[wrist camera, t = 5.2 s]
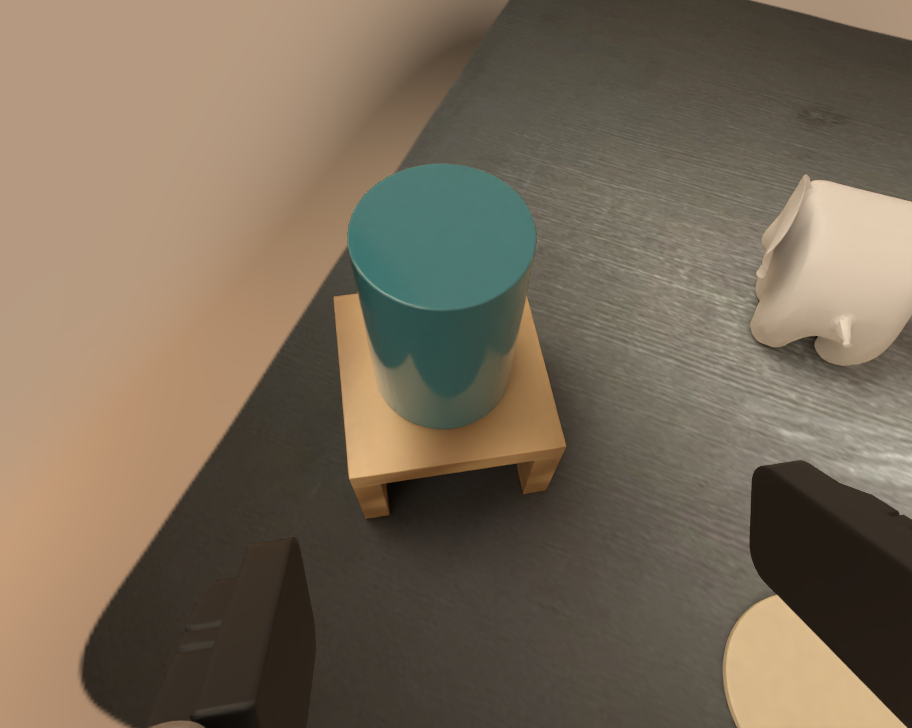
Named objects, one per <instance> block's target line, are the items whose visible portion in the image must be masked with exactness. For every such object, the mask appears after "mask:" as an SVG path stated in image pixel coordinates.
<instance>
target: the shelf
mask: <svg viewBox="0 0 912 728" xmlns="http://www.w3.org/2000/svg"><path fill="white" fill-rule="evenodd" d="M334 309H335V321H336V332H337V344H338V356H339V367H340V379H341V390H342V402H343V414H344V425H345V437H346V449H347V460H348V472H349V480H350V482H351V485H352V487H353V489H354V492H355V494H356V496H357V499H358V501H359V504H360V506H361V509H362V511H363V513H364V516H365V518H366V519H368V518H374V517H380V516H387V515H390V510H389V502H388V493H387V484H386V483H391V482H397V481H404V480H410V479H417V478H424V477H430V476H437V475H443V474H450V473H456V472H463V471H470V470H476V469H483V468H489V467H496V466H503V465H509V464H516V465H517V469H518V474H519V478H520V483H521V487H522V492H523V494H527V493H534V492H540V491H546V489H547V487H548V485H549V483H550V481H551V479H552V476H553V474H554V472H555V470H556V468H557V465H558V463H559V461H560V459H561V456H562V455H563V453H564V450H565V448H566V443H565V439H564V435H563V431H562V428H561V424H560V420H559V416H558V412H557V409H556V405H555V401H554V397H553V393H552V390H551V386H550V382H549V378H548V374H547V371H546V367H545V363H544V359H543V355H542V352H541V348H540V344H539V340H538V336H537V333H536V329H535V325H534V321H533V317H532V313H531V310H530V306H529V302H528V298H527V295H526V301H525V306H524V311H523V316H522V321H521V326H520V331H519V336H518V341H517V346H516V351H515V357H514V362H513V367H512V372H511V377H510V381H509V385H508V388H507V390H506V392H505V395H504V396H503V398H502V399H501V401H500V402H499V404H498V405H497V406H496V407H495V408H494V409H493V410H492V411H491V412H490V413H489V414H487V415H486V416H484V417H483V418H481V419H480V420H478V421H476V422H474V423H472V424H469V425H466V426H463V427H458V428H452V429H433V428H427V427H423V426H420V425H416V424H414V423H412V422H409V421H407V420H406V419H404V418H402V417H401V416H399V415H398V414H397V413H396V412H394V411H393V410H392V409H391V408H390V407H389V406H388V404H387V403H386V402H385V400H384V399H383V397H382V395H381V394H380V392H379V389H378V386H377V384H376V379H375V374H374V370H373V365H372V360H371V355H370V350H369V346H368V341H367V336H366V331H365V326H364V322H363V317H362V312H361V307H360V302H359V298H358V294H352V295H344V296H336V297H334Z"/></svg>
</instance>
